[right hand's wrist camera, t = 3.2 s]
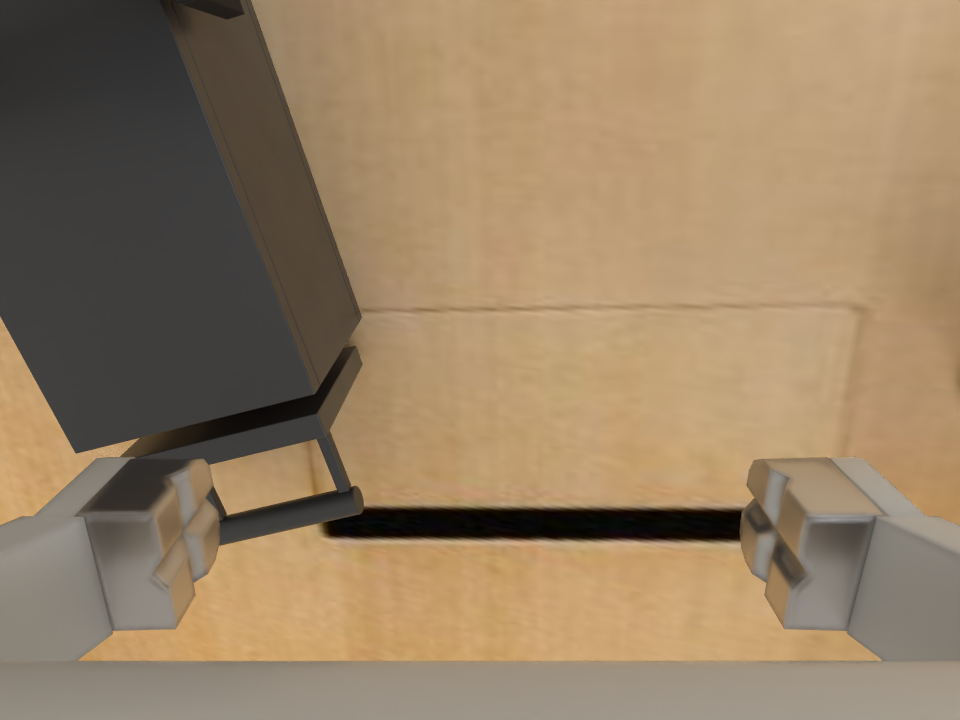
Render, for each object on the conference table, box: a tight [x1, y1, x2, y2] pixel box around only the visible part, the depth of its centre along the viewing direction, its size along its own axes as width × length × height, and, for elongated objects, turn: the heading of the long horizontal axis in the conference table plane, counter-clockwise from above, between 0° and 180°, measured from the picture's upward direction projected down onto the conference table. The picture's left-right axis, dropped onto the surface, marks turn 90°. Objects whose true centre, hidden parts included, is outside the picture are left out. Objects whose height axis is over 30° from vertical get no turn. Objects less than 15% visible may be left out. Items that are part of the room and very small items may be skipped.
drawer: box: [120, 346, 364, 546], centre depth 32 cm, size 26×10×9 cm, turn 15°
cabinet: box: [0, 0, 362, 453], centre depth 30 cm, size 21×11×11 cm, turn 15°
